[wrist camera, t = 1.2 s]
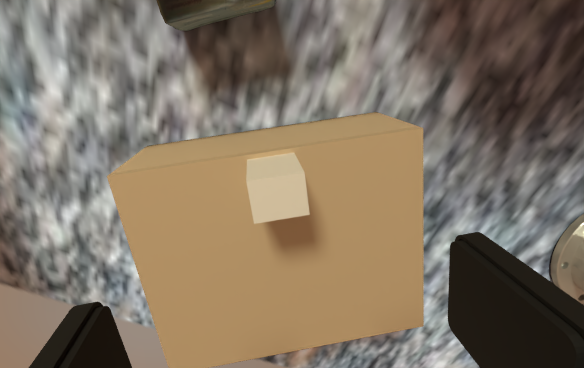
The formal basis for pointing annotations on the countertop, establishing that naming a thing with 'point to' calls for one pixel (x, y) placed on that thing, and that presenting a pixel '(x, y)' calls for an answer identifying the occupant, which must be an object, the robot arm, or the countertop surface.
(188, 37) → the countertop surface
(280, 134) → the carton
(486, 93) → the countertop surface
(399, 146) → the carton lid
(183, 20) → the beverage carton
